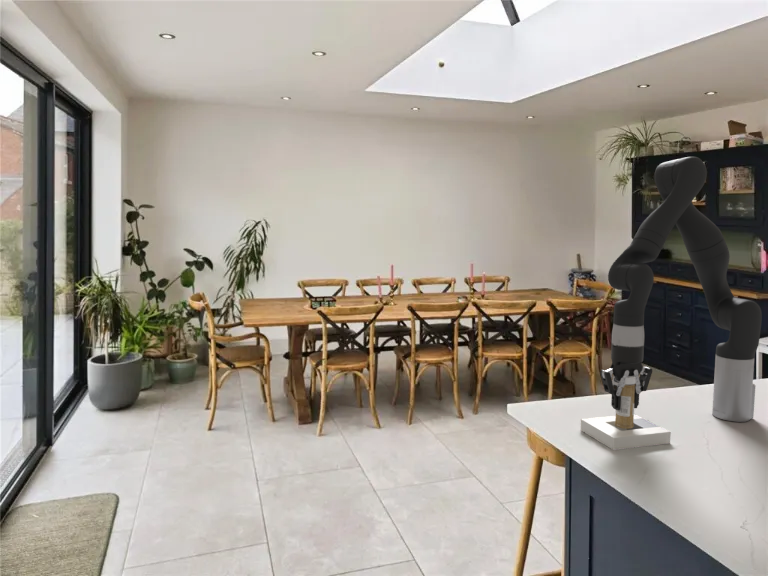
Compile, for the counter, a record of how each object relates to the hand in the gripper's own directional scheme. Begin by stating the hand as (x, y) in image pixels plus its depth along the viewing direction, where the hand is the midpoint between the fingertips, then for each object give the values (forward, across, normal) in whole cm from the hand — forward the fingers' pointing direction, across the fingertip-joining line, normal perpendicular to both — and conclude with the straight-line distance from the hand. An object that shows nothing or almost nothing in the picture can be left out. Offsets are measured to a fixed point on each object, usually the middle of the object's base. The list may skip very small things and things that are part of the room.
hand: (624, 408), depth 151 cm
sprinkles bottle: (+5, 0, 0) cm, 5 cm away
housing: (+7, 0, 0) cm, 7 cm away
